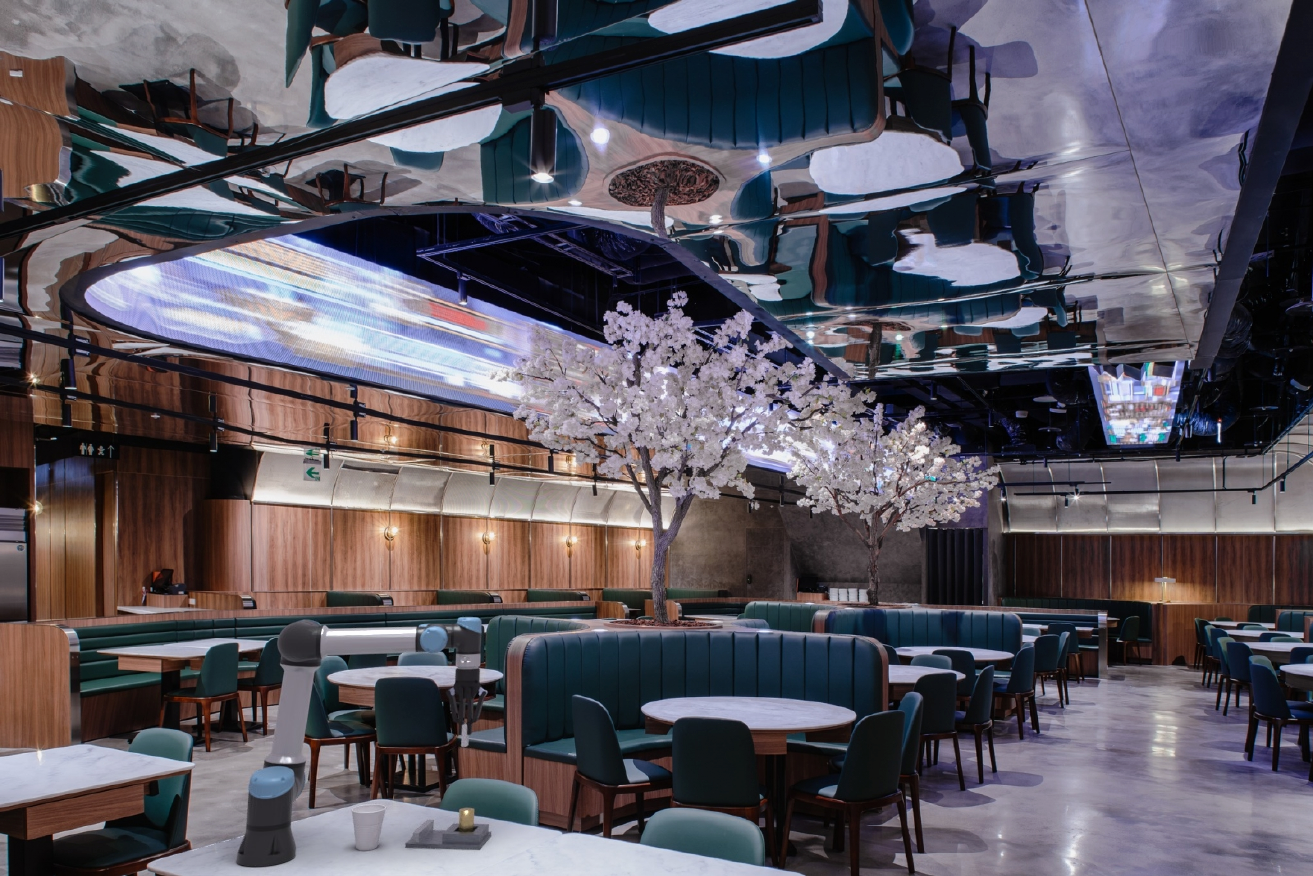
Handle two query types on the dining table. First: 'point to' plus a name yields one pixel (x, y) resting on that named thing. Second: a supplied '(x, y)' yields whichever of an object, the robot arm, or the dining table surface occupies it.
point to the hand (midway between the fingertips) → (464, 745)
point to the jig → (448, 837)
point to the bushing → (466, 820)
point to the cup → (367, 825)
